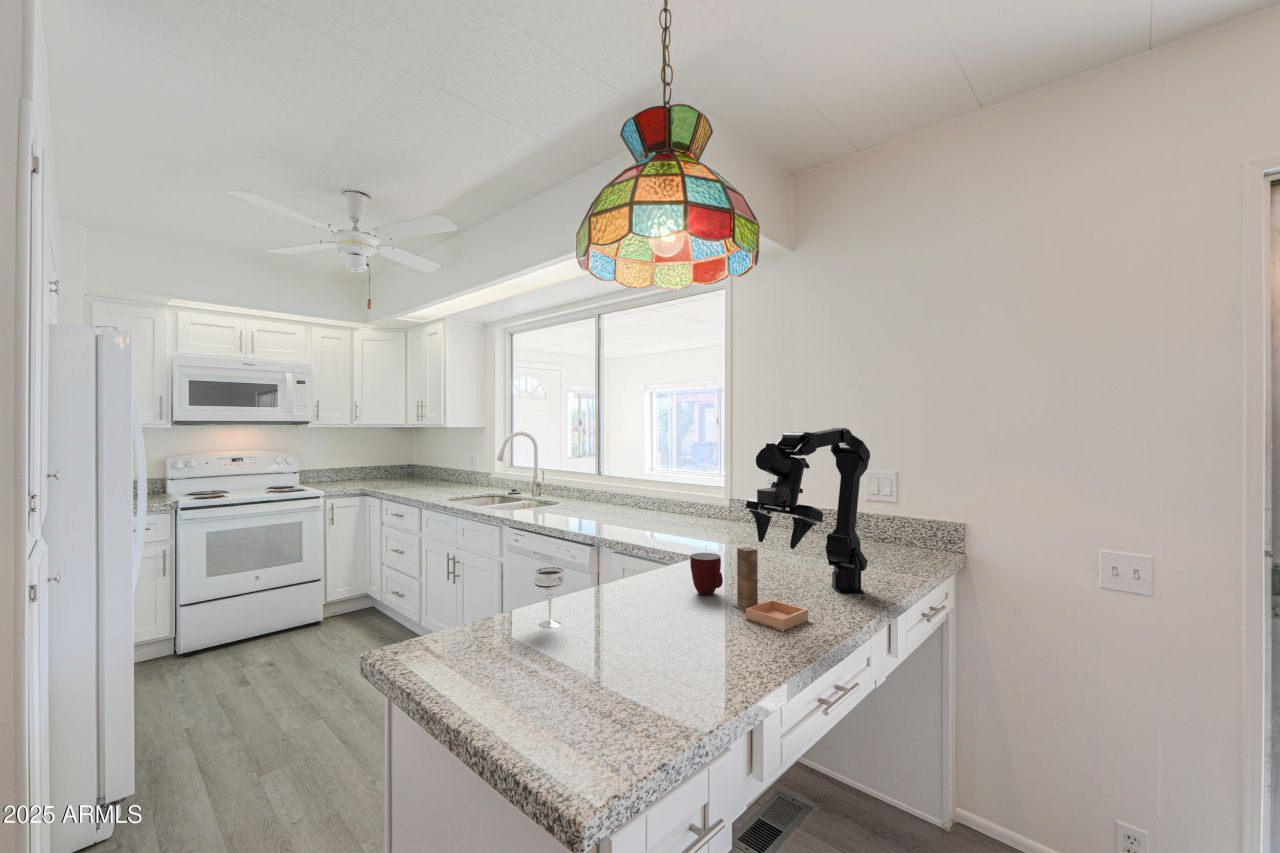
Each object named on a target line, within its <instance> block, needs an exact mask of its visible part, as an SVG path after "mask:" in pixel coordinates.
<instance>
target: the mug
mask: <svg viewBox="0 0 1280 853" xmlns="http://www.w3.org/2000/svg"><path fill="white" fill-rule="evenodd" d="M689 561H690V562H689V563H690V565H689V566H690V571H691V572H690V573H691V576H692V583H693V585H694V588H695V590H696V591H697V594H698V595H700V596H706V597H707V596H713V595H714V594H715V592H716V590H717V589H719V588H721V587H722V585H723V581H724V579H723V574H722V571H721V569H722V568H721V566H722V556H721V555H720V554H717V553H713V552H696V553H692V554H690V560H689Z"/></svg>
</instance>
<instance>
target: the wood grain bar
mask: <svg viewBox="0 0 1280 853" xmlns="http://www.w3.org/2000/svg"><path fill="white" fill-rule="evenodd" d="M736 549H737V550H736V557H737V558H736V563H737V564H736V567H737V568H736V574H737V576H736V578H737V580H736V581H737V582H736V583H737V584H736V585H737V586H736V588H737V590H736V591H737V593H736V594H737V596H736V597H737V599H736V601H737V603H733V604H732V607H734V608H736V609H738V610H739V611H741V610H742V612H743V613H746V608H749V607H752V606H754V605H757V604H759V599H758V597H759V595H758V594H759V593H758V592H759V590H758V589H759V588H758V584H759V582H758V578H759V577H758V576H759V574H758V571H759V570H758V569H759V567H758V566H759V564H758V563H759V562H758V561H759V560H758V558H759V557H758V549H757V548H754V547H751V546H744V547H737V548H736Z"/></svg>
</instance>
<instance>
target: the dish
mask: <svg viewBox="0 0 1280 853" xmlns="http://www.w3.org/2000/svg"><path fill="white" fill-rule="evenodd" d="M745 620H747V621H749V620H750V622H752V621H753V622H752V623H755V622H756V624H758V623H759V625H762V624H763V625H762V626H765V625H766V626H765V627H768V626H770V627H769V628H771V627H773V628H772V629H774V628H777V629H780V630H786V629H788V628H790V627H792V628H794V627H793V626H795V625H797V626H799V625H800V623H801V624H803V623H806V622H808V621H809V608H808V609H807V608H803V607H801V606H797V605H793V604H789V603H786V602H782V601H778V600H775V599H772V598H771V599H767V600H765V601H763V602H760V603H758V604H757V605H754V606H752V607H749V608H746V612H745ZM807 620H808V621H807ZM805 621H806V622H805ZM798 624H799V625H798ZM795 627H796V626H795ZM777 629H776V630H777ZM790 629H791V628H790ZM780 630H779V631H780ZM788 630H789V629H788ZM786 631H787V630H786Z"/></svg>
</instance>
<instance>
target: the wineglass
mask: <svg viewBox="0 0 1280 853" xmlns="http://www.w3.org/2000/svg"><path fill="white" fill-rule="evenodd" d="M534 573H535V577H534V585H535V587H536V589H537V590H538V591H539V592H540V593H542V594H544V595H546V596H547V603H548V605H547V606H548V619H546V620H542V621H540V622H539V623H538V626H539V627H541V628H545V629H548V628H549V629H551V628H556V627H559V626H561V624H562V622H561V621H559V620H557V619H552V617H551V616H552V597H553V596H554V594H556V593H558V592H559V591H560V590H562V588H563V587H564V584H565V575H564V573H565V569H564V568H562V567H555V566H552V567H551V566H549V567H541V568H538V569H536V570H534Z"/></svg>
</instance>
